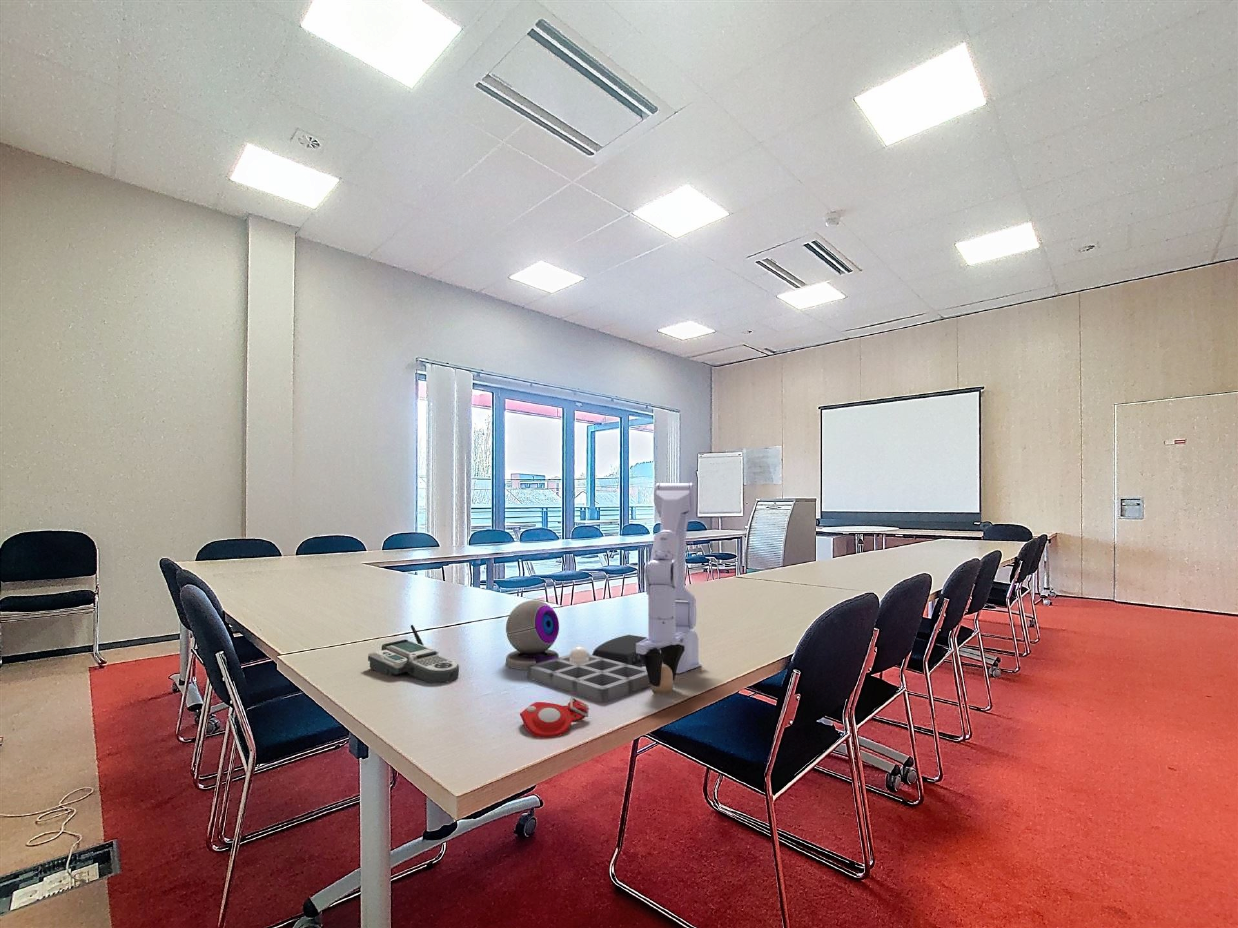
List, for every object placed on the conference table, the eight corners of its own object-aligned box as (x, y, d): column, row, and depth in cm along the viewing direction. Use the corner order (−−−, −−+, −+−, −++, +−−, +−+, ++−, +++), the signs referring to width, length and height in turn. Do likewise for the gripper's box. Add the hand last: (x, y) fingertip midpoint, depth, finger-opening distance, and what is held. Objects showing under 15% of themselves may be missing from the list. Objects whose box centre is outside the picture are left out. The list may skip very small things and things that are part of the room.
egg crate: (526, 677, 130) (526, 665, 130) (579, 662, 142) (580, 651, 142) (602, 702, 114) (602, 689, 114) (655, 683, 126) (655, 671, 126)
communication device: (425, 692, 122) (426, 649, 122) (365, 670, 136) (365, 632, 137) (471, 677, 132) (471, 638, 132) (410, 659, 146) (411, 623, 146)
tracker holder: (554, 737, 95) (508, 712, 100) (552, 759, 96) (507, 733, 101) (595, 699, 105) (552, 677, 110) (594, 720, 106) (551, 697, 111)
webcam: (536, 672, 134) (536, 607, 135) (494, 664, 140) (495, 602, 141) (568, 659, 145) (568, 598, 146) (528, 652, 151) (528, 594, 152)
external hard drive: (586, 664, 142) (586, 647, 142) (625, 647, 158) (625, 631, 159) (632, 672, 135) (632, 654, 135) (668, 653, 152) (668, 637, 152)
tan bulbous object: (660, 685, 124) (660, 660, 125) (677, 690, 121) (676, 664, 122) (647, 690, 121) (647, 664, 121) (663, 695, 118) (663, 668, 118)
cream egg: (579, 666, 139) (579, 643, 139) (592, 669, 136) (592, 646, 136) (565, 670, 136) (566, 646, 136) (578, 674, 133) (578, 650, 133)
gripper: (654, 624, 114) (655, 695, 113) (697, 614, 125) (697, 678, 124) (628, 619, 119) (628, 687, 118) (671, 610, 129) (671, 671, 129)
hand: (662, 682), depth 121 cm, fingers closed on tan bulbous object, 4 cm apart
